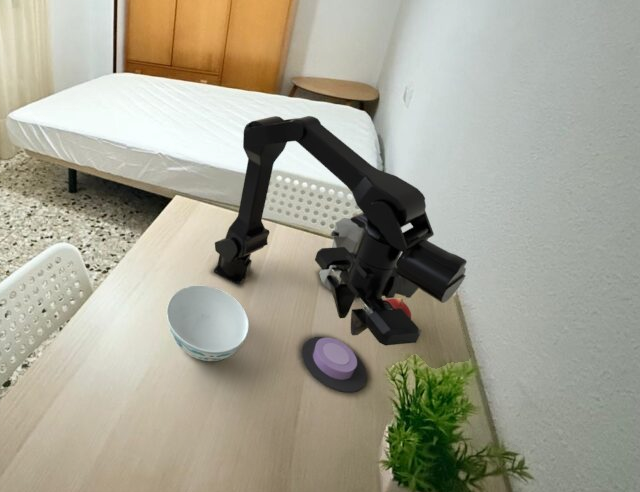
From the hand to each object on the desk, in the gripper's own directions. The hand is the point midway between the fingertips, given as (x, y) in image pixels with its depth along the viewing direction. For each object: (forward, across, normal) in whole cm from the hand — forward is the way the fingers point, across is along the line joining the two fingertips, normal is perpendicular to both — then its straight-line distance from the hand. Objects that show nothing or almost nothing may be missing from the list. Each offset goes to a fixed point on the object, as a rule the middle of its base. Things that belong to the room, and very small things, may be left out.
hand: (347, 325), depth 71 cm
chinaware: (+10, +6, +23) cm, 26 cm away
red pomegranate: (+10, +6, -16) cm, 20 cm away
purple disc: (+10, 0, 0) cm, 10 cm away
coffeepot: (+10, +19, -15) cm, 26 cm away
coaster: (+10, 0, 0) cm, 10 cm away
